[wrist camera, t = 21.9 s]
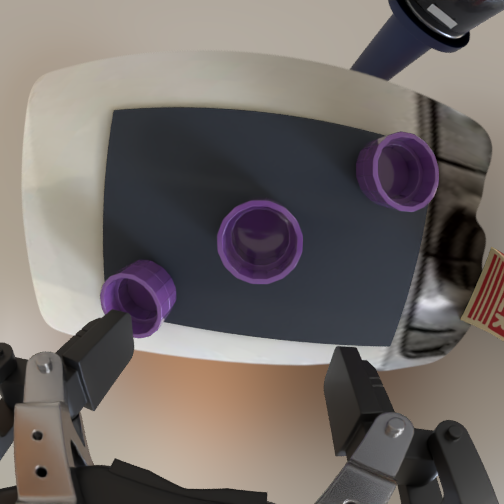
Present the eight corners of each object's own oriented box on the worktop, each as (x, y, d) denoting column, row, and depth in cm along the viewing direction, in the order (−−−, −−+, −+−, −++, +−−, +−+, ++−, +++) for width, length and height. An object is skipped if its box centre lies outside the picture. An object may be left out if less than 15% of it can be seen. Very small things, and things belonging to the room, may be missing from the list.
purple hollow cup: (261, 182, 22) (260, 182, 18) (310, 232, 23) (320, 244, 19) (212, 231, 23) (200, 243, 19) (261, 278, 24) (259, 299, 20)
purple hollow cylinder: (383, 126, 20) (406, 117, 16) (422, 177, 21) (450, 178, 17) (340, 168, 22) (356, 165, 17) (382, 219, 22) (405, 228, 18)
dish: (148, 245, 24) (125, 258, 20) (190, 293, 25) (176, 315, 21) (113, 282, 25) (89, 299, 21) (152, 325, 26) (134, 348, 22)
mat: (431, 151, 21) (434, 151, 20) (388, 344, 26) (390, 346, 25) (115, 111, 21) (113, 110, 21) (108, 307, 26) (106, 308, 26)
